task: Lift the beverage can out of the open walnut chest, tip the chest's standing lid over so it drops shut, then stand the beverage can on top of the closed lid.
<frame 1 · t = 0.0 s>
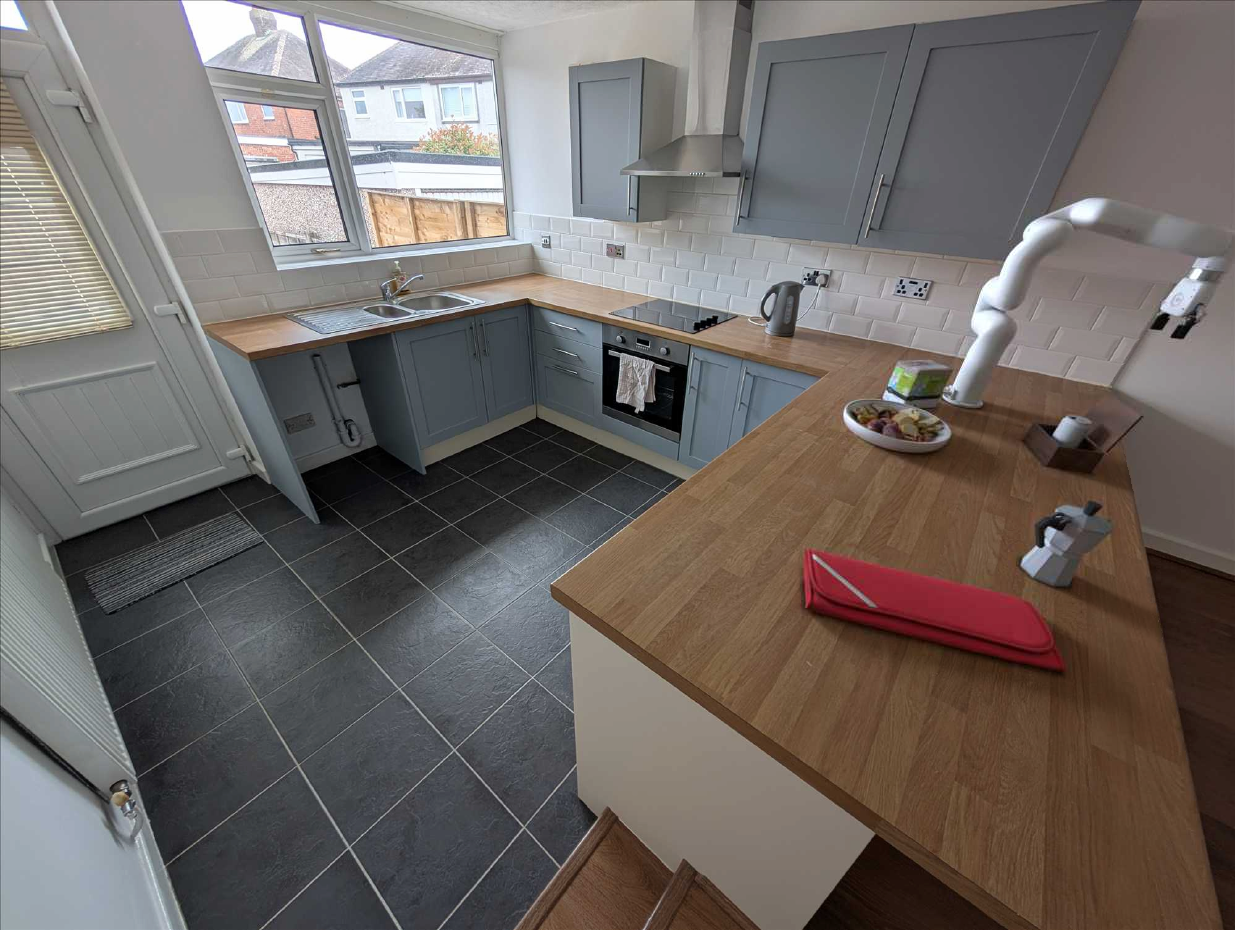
hand: (1165, 334, 148), 31 cm above the counter, tool pointing down, fingers open, 9 cm apart
chest lid: (1107, 421, 134), point 13 cm above the counter, hinge at 100.0°
bowl: (890, 433, 150), on the counter
coffee maker: (1039, 572, 100), on the counter
tea box: (908, 403, 170), on the counter
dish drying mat: (916, 610, 89), on the counter
chest: (1055, 456, 142), on the counter
beverage can: (1055, 454, 142), resting on chest
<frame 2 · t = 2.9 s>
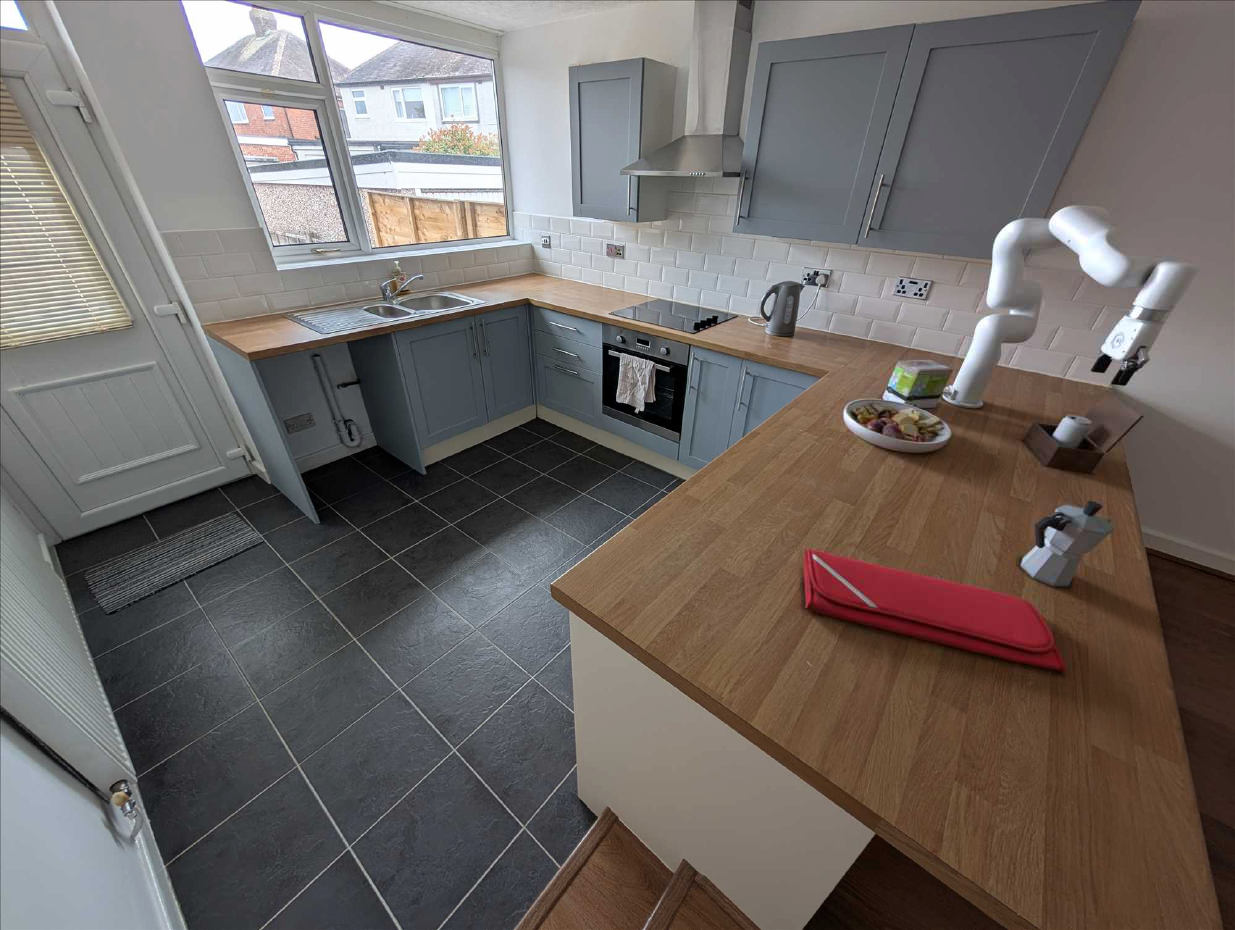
hand: (1107, 378, 129), 25 cm above the counter, tool pointing down, fingers open, 9 cm apart
nothing on the counter moved.
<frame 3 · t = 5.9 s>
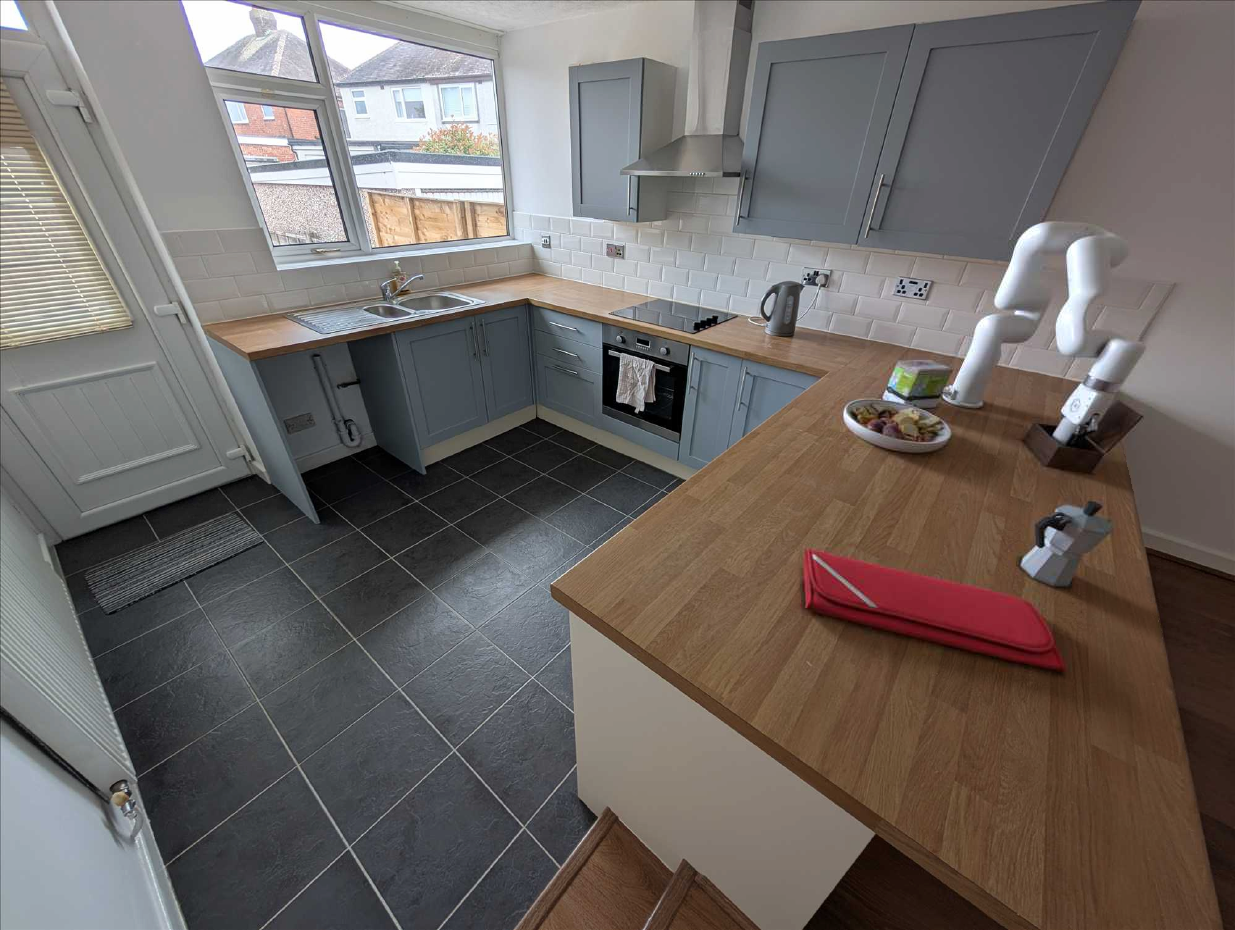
hand: (1065, 440, 140), 5 cm above the counter, tool pointing down, fingers closed on beverage can, 6 cm apart
beverage can: (1055, 454, 142), resting on chest, touching gripper
everything else where it was.
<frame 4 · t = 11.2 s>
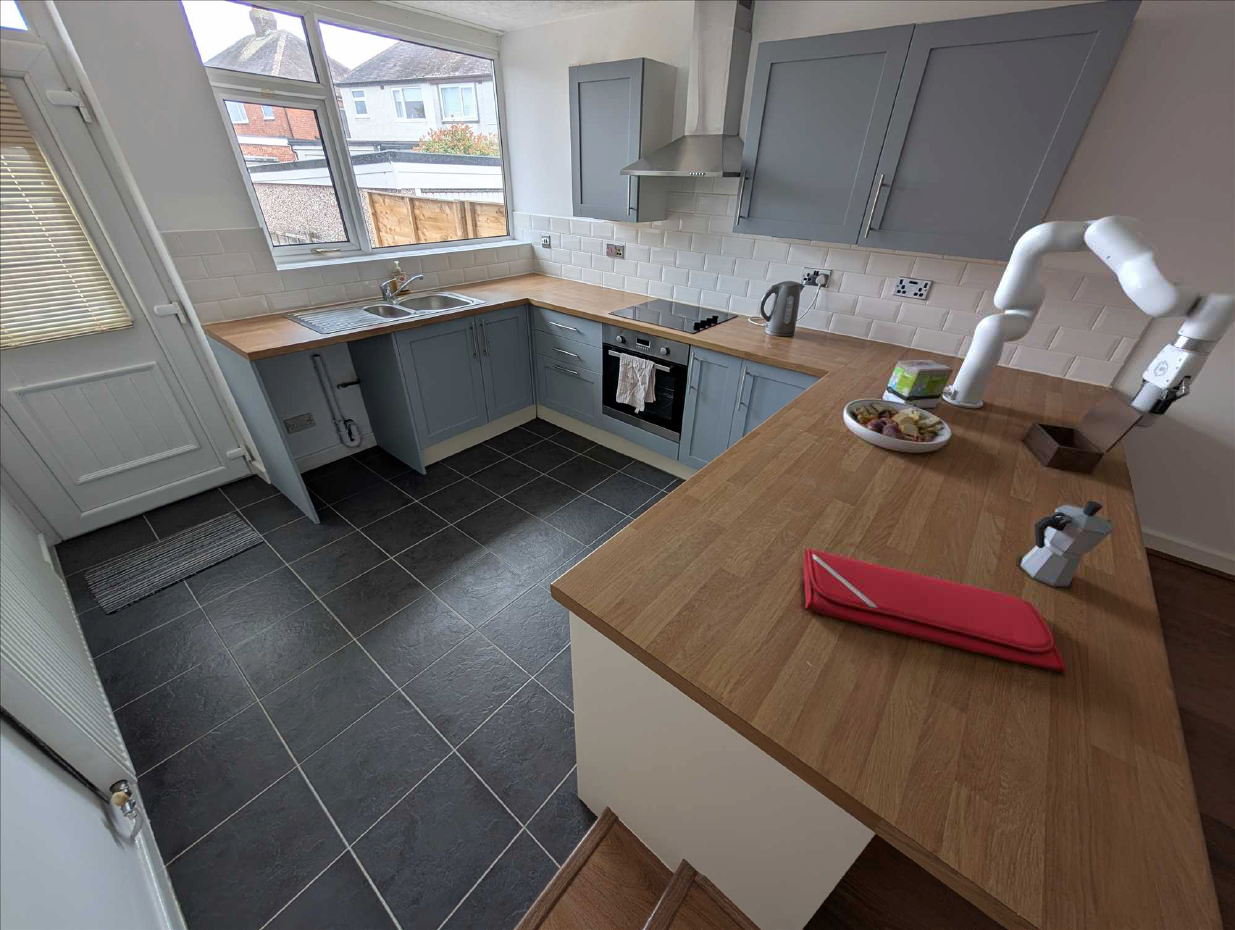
hand: (1147, 407, 130), 19 cm above the counter, tool pointing down, fingers closed on beverage can, 6 cm apart
beverage can: (1135, 424, 132), point 14 cm above the counter, touching gripper
everything else where it was.
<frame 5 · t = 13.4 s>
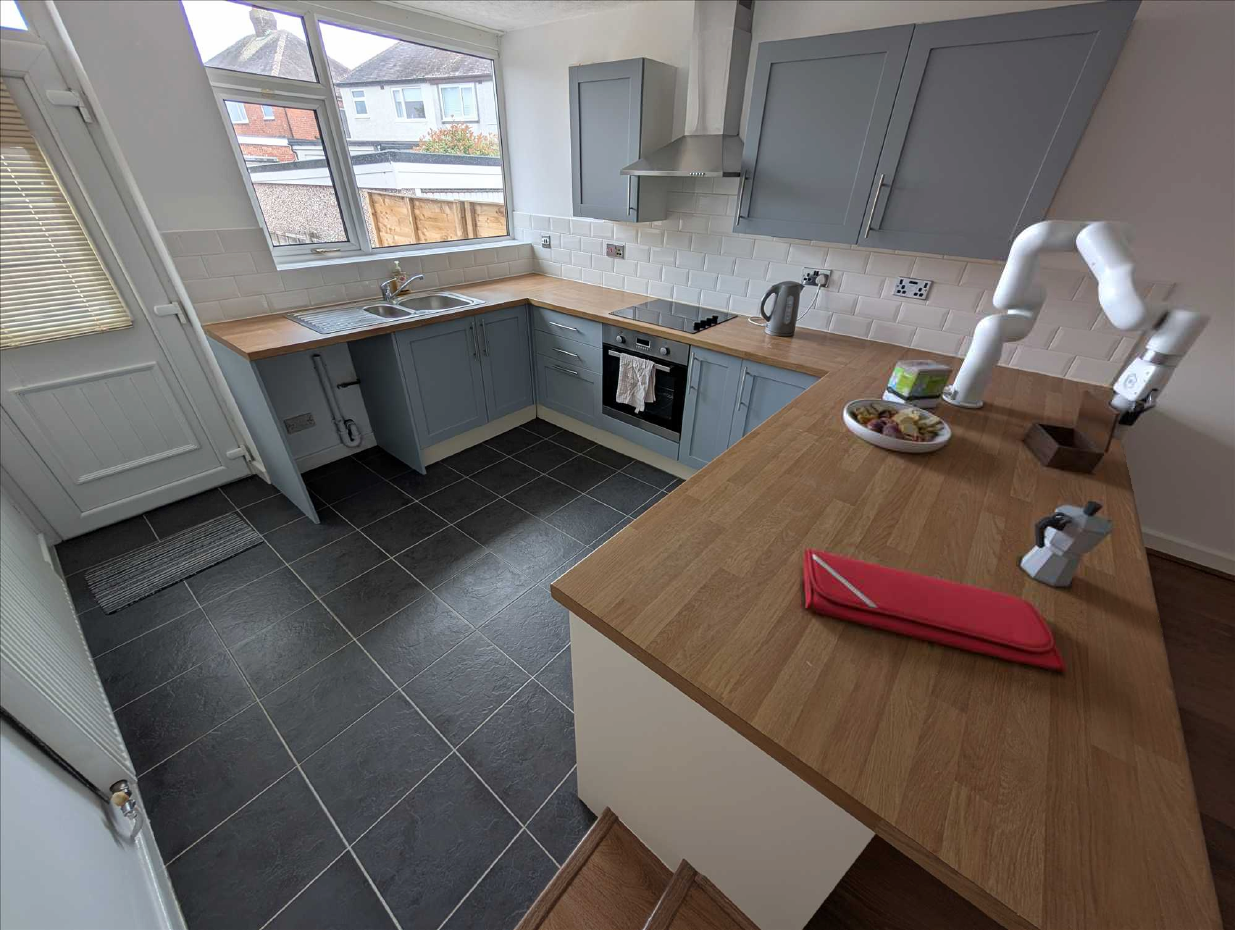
hand: (1117, 418, 133), 14 cm above the counter, tool pointing down, fingers closed on beverage can, 6 cm apart
chest lid: (1095, 420, 135), point 13 cm above the counter, hinge at 74.1°, touching beverage can
beverage can: (1106, 434, 136), point 9 cm above the counter, touching chest lid, gripper
everything else where it was.
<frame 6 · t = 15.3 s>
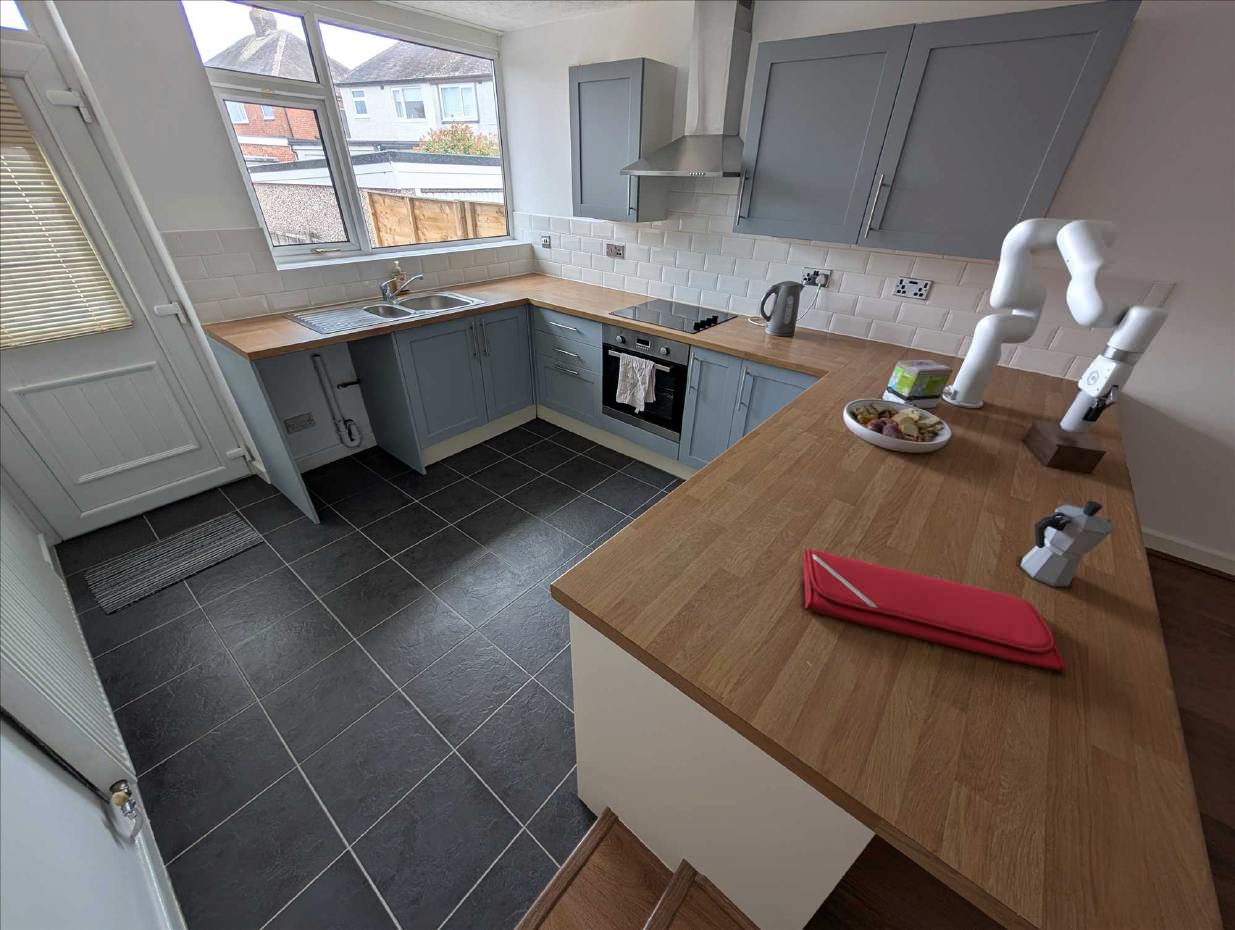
hand: (1081, 414, 135), 14 cm above the counter, tool pointing down, fingers closed on beverage can, 6 cm apart
chest lid: (1066, 435, 139), point 7 cm above the counter, hinge at -0.2°
beverage can: (1072, 430, 138), point 9 cm above the counter, touching gripper
everything else where it was.
when the fingers open (12 cm above the counter, at t = 16.4 s): beverage can stays where it is, resting on chest lid.
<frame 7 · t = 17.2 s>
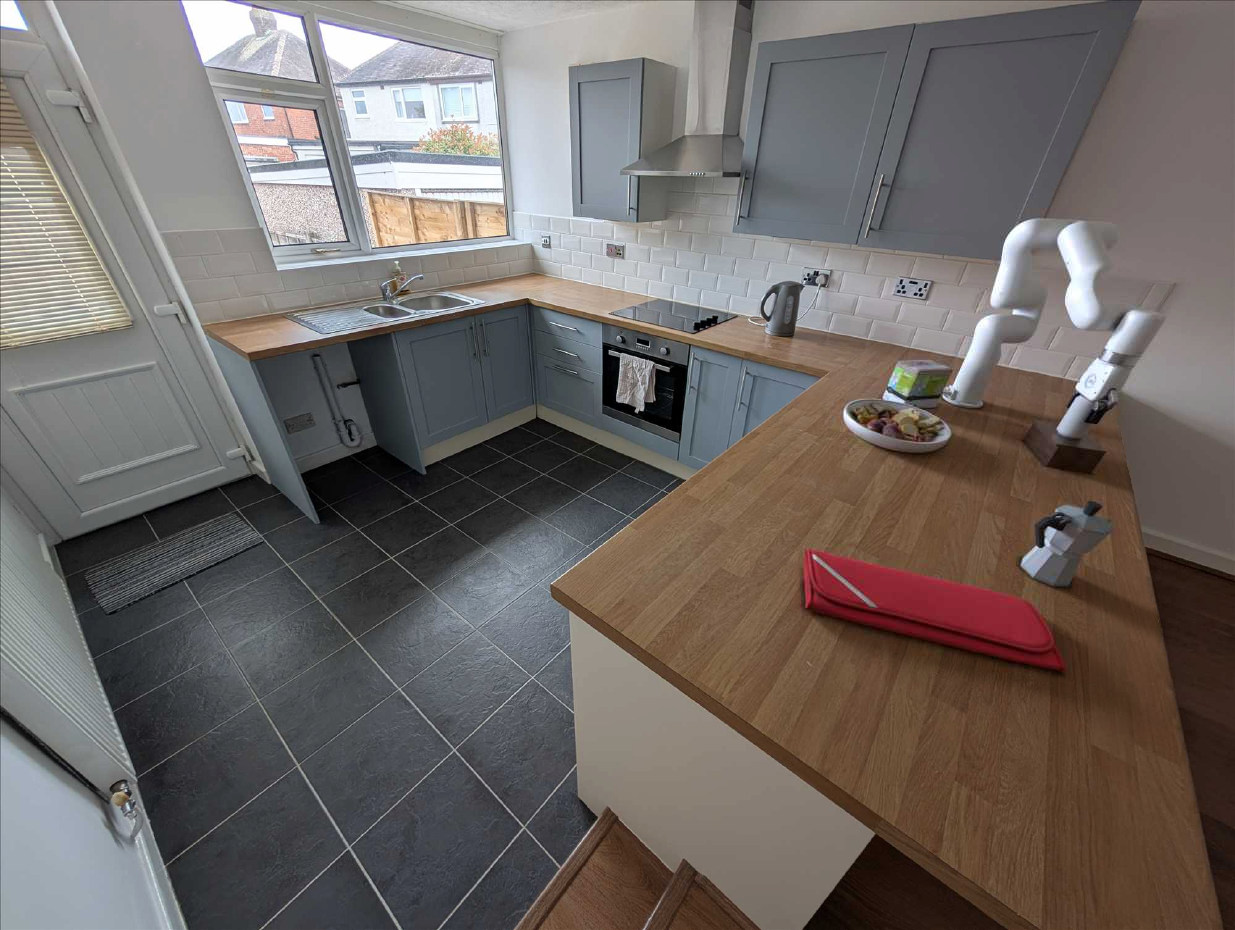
hand: (1080, 415, 135), 14 cm above the counter, tool pointing down, fingers open, 9 cm apart
chest lid: (1066, 435, 139), point 7 cm above the counter, hinge at -0.3°, touching beverage can, chest
beverage can: (1068, 435, 139), point 7 cm above the counter, touching chest lid
everything else where it was.
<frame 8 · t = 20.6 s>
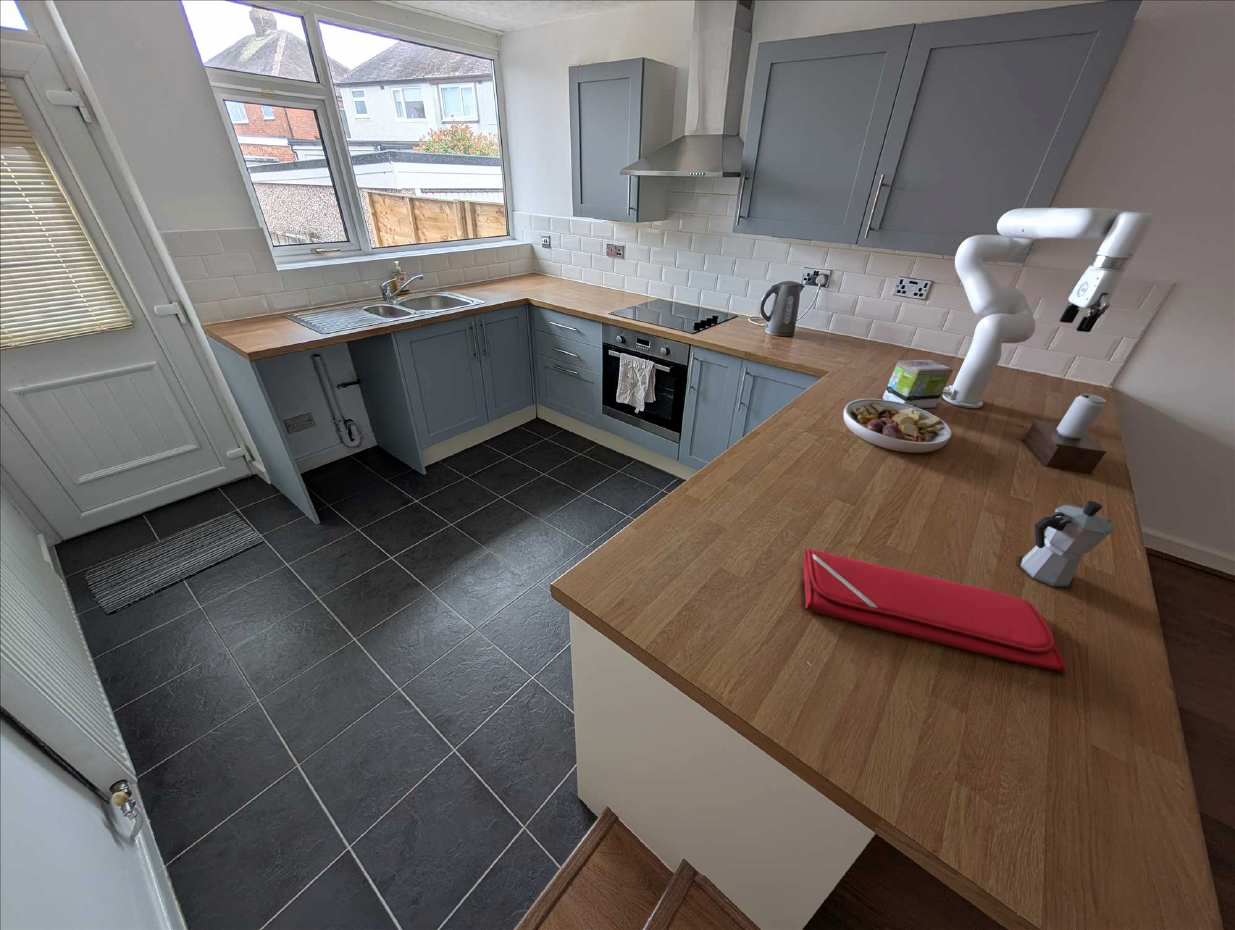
hand: (1073, 326, 137), 34 cm above the counter, tool pointing down, fingers open, 9 cm apart
nothing on the counter moved.
at the end: chest lid at +0° (first picture: +100°); beverage can inside the target area on the chest (0.1 cm from its centre), point 7.1 cm above the chest's base; beverage can tilted 0° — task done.
